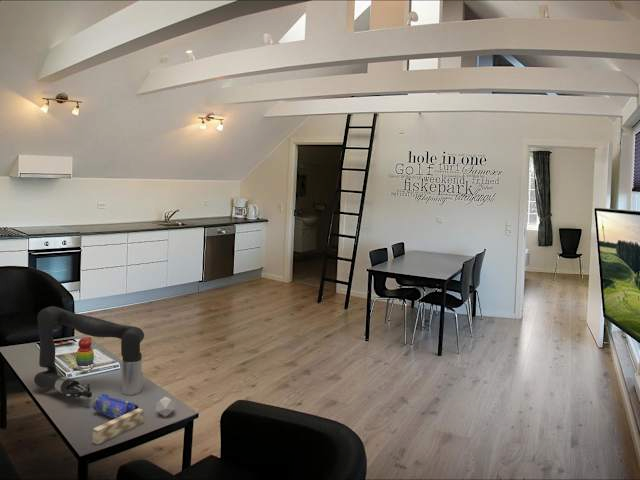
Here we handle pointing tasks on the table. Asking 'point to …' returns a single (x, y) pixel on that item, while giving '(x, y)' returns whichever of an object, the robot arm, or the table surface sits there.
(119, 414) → the pencil case
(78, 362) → the stacking bear
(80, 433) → the table surface
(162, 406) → the die
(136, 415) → the birch board
